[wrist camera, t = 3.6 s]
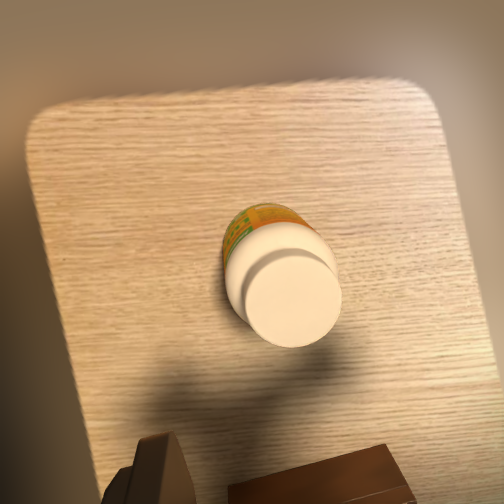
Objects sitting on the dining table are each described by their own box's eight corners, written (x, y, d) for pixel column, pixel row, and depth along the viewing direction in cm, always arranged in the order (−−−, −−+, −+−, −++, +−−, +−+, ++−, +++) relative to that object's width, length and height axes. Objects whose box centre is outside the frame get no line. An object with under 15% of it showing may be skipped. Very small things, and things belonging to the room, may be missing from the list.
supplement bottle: (232, 193, 25) (242, 225, 16) (318, 211, 26) (376, 252, 16) (215, 277, 26) (214, 353, 17) (297, 292, 27) (340, 373, 18)
